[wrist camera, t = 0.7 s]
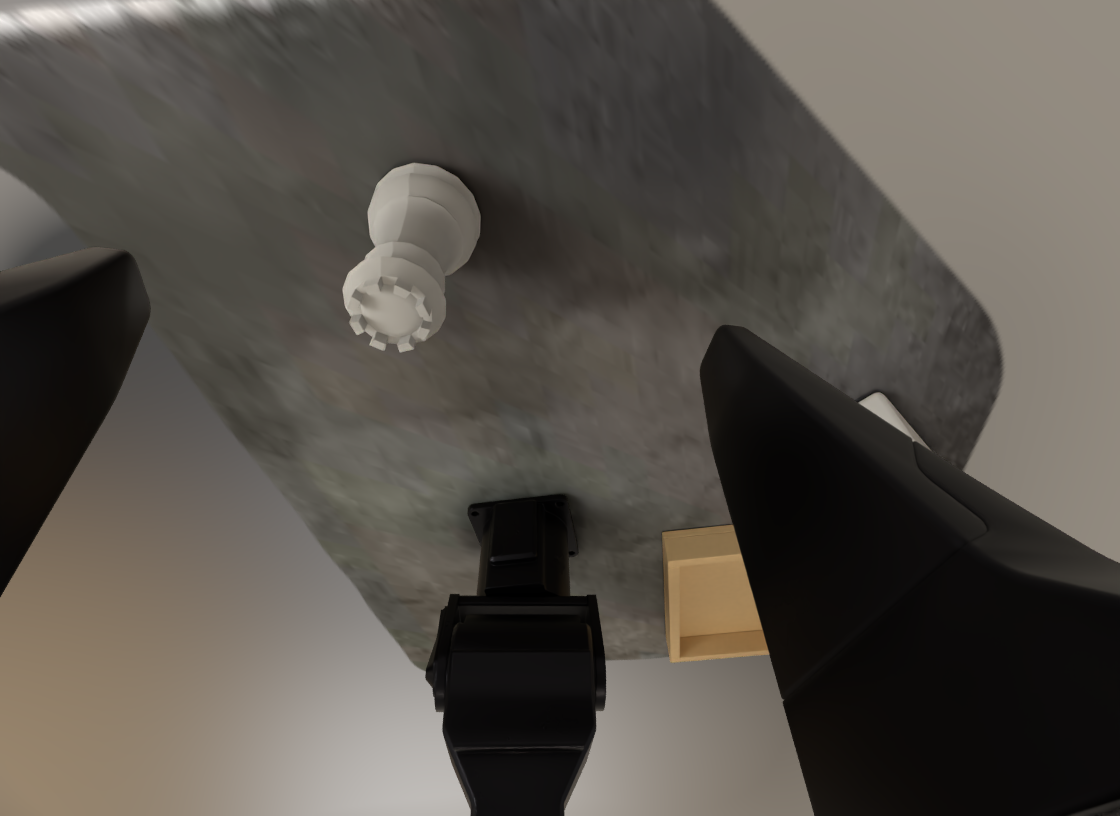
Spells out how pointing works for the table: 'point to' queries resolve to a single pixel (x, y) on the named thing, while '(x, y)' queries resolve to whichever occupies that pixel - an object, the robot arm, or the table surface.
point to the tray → (708, 597)
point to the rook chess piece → (411, 255)
